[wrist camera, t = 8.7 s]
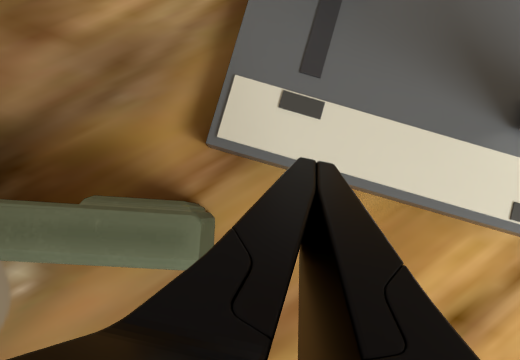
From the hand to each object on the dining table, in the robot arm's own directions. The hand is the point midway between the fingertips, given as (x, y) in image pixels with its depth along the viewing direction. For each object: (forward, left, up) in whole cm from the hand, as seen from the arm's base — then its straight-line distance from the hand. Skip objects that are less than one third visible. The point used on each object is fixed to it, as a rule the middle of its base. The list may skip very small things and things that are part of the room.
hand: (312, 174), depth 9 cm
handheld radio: (-11, +12, -13) cm, 21 cm away
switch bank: (+10, -3, -13) cm, 16 cm away
